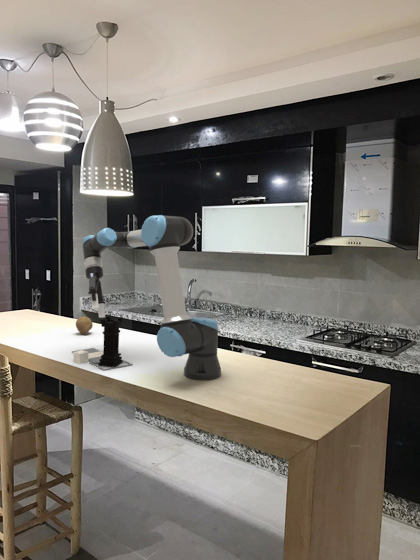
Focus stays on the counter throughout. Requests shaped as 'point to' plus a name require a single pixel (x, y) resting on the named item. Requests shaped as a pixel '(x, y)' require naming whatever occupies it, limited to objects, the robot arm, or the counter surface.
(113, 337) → the chess piece
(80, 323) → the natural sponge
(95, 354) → the track
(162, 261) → the robot arm
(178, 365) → the counter surface
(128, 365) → the grey flat square frame
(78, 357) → the die
